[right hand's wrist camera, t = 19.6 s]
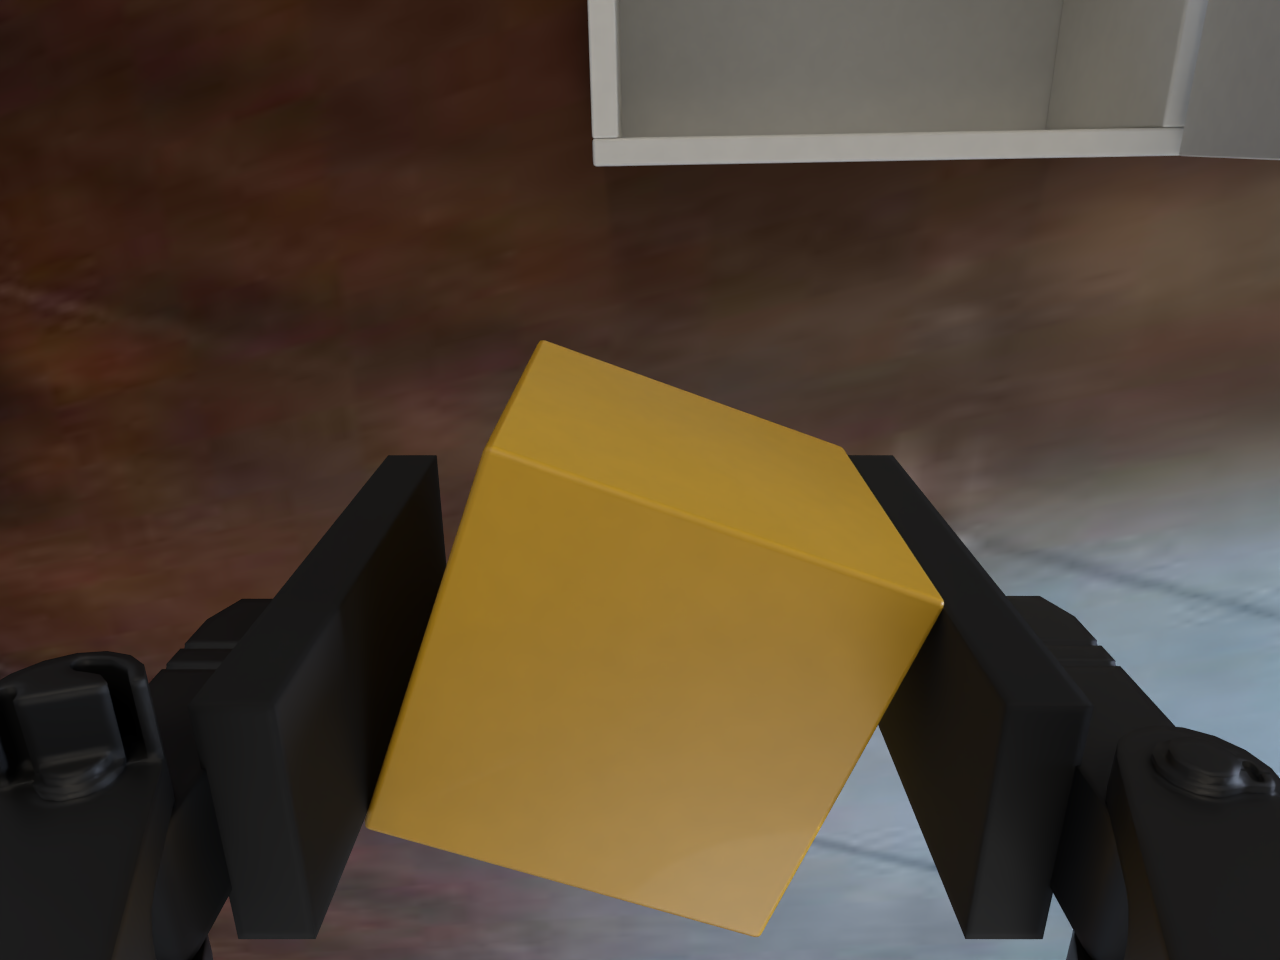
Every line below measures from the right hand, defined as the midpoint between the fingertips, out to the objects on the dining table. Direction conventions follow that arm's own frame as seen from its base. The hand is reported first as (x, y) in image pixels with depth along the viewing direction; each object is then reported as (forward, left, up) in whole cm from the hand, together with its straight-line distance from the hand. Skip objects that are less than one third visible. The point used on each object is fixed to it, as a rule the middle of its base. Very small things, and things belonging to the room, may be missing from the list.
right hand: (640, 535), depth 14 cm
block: (0, 0, 0) cm, 0 cm away
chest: (+4, +12, -23) cm, 26 cm away
